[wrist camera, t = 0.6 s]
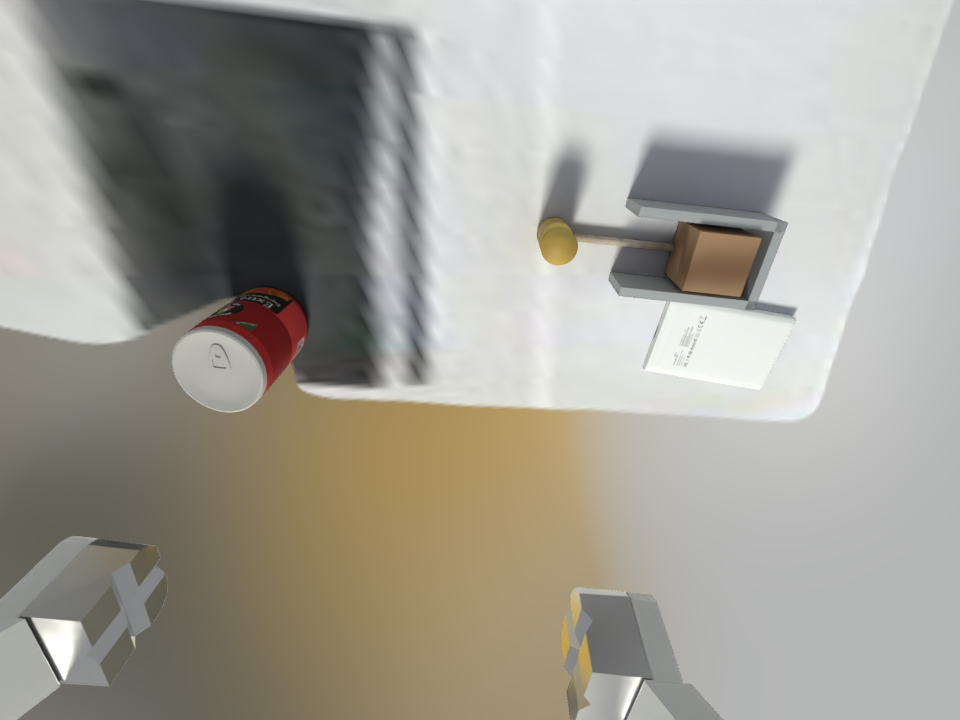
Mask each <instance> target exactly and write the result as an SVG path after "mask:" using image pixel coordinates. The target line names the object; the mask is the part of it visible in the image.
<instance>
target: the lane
mask: <svg viewBox="0 0 960 720" xmlns="http://www.w3.org/2000/svg"><path fill="white" fill-rule="evenodd" d="M626 208H627V209H629V210H630V211H631V212H633V213H634V214H635V215H637V216H638V217H645V218H654V219H663V220H672V221H681V222H690V223H699V224H708V225H717V226H727V227H736V228H745V229H746V231H748V232H750V233H752V234H754V235H756V236H758V237H760V238H762V240H761V242H760V245H759V248H758V251H757V253H756V256H755V259H754V261H753V264H752V267H751V269H750V272H749V275H748V277H747V280H746V283H745V286H744V288H743V291H742V294H741V296H740V297H737V296H727V295H718V294H709V293H700V292H691V291H682V290H681V289H680V288H679V287H678V286H677V285H676V284H675V283H674V282H673V281H672V280H671V279H670V278H661V277H652V276H643V275H634V274H625V273H615V272H610V276H609V282H610V283H611V285H612V286H613V288H614V289H615V291H616V292H617V294H618V295H619V296H624V297H633V298H643V299H652V300H661V301H670V302H680V303H689V304H698V305H707V306H717V307H726V308H735V309H744V310H754V309H755V307H756V304H757V302H758V299H759V297H760V294H761V291H762V289H763V286H764V284H765V281H766V279H767V276H768V273H769V271H770V268H771V266H772V263H773V261H774V258H775V256H776V253H777V250H778V248H779V245H780V243H781V240H782V238H783V235H784V233H785V230H786V227H787V225H788V223H787V222H785V221H782V220H779V219H777V218H774V217H771V216H769V215H766V214H763V213H760V212H751V211H742V210H733V209H724V208H715V207H706V206H697V205H688V204H679V203H670V202H661V201H652V200H643V199H634V198H627V203H626Z"/></svg>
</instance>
